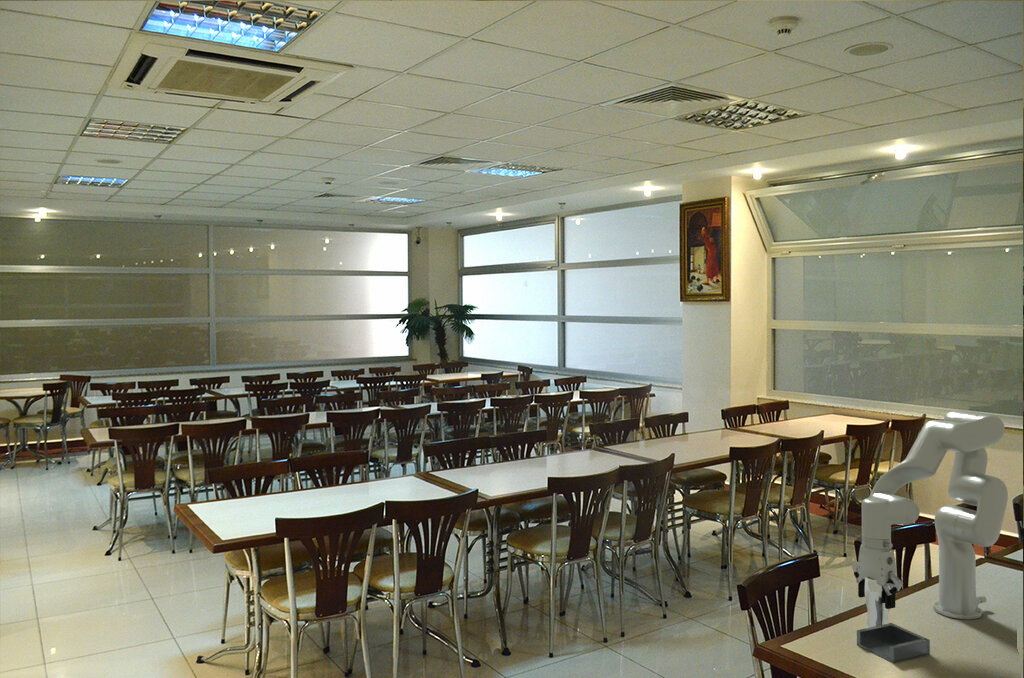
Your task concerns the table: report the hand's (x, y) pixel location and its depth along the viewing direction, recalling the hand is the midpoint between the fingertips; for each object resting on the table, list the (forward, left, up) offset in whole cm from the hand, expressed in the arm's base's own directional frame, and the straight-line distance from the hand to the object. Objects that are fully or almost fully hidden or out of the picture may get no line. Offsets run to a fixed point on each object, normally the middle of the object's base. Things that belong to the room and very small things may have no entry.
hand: (876, 602), depth 223 cm
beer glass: (-1, 0, -8) cm, 8 cm away
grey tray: (+7, +12, -8) cm, 16 cm away
